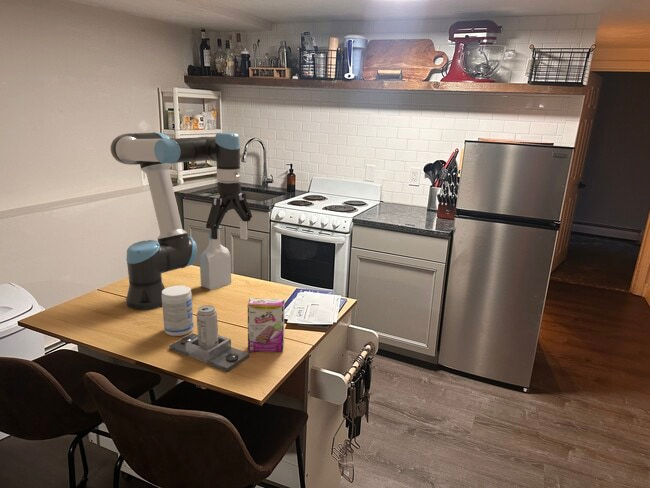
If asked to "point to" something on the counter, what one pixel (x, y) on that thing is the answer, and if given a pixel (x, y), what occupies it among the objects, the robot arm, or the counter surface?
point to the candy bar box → (266, 325)
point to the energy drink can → (207, 327)
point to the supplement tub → (177, 310)
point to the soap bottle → (215, 266)
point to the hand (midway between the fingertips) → (230, 243)
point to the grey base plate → (211, 352)
